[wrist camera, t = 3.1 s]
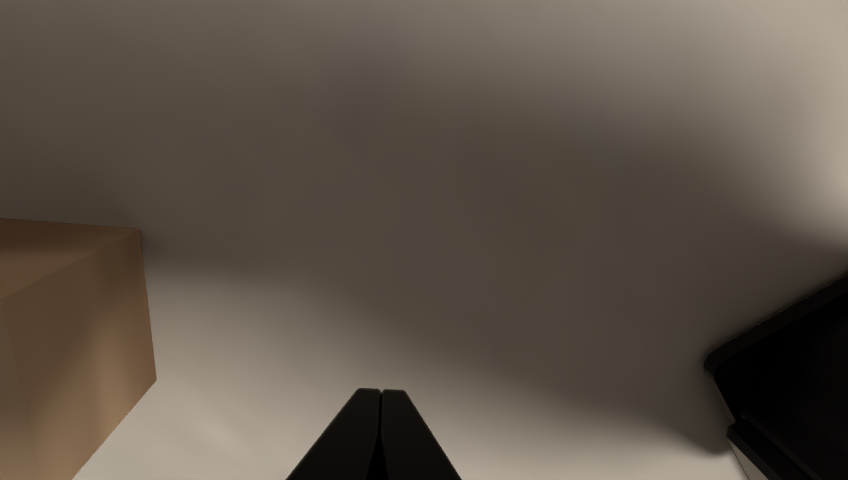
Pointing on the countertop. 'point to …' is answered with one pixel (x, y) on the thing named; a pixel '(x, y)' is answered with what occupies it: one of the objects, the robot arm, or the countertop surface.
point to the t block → (68, 343)
